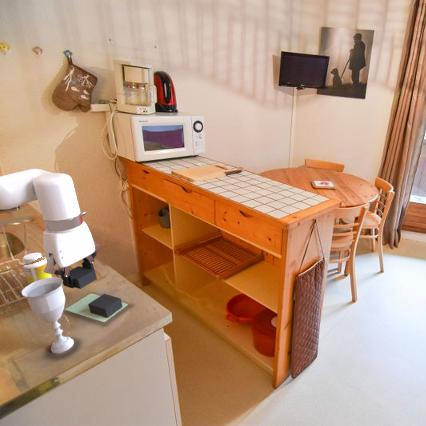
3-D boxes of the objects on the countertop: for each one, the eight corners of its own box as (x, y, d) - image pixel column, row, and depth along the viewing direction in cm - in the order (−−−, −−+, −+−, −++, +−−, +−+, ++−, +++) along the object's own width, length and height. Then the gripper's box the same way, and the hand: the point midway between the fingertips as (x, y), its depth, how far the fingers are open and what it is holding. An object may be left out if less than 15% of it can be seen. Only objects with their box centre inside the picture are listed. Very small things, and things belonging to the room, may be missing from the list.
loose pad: (63, 284, 87) (60, 275, 86) (80, 274, 91) (78, 265, 90) (80, 289, 85) (77, 279, 84) (97, 279, 90) (95, 270, 89)
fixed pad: (90, 312, 88) (87, 304, 87) (106, 301, 92) (104, 293, 91) (107, 318, 86) (105, 309, 85) (122, 306, 91) (120, 298, 90)
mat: (64, 311, 88) (64, 309, 88) (91, 294, 96) (90, 293, 95) (104, 323, 85) (104, 322, 85) (128, 305, 92) (128, 304, 92)
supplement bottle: (56, 277, 102) (47, 250, 98) (48, 288, 97) (39, 259, 93) (34, 280, 100) (25, 252, 96) (26, 290, 95) (15, 261, 91)
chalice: (61, 362, 73) (40, 299, 66) (36, 356, 74) (12, 294, 67) (88, 339, 80) (71, 279, 73) (64, 334, 81) (45, 275, 74)
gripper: (84, 208, 90) (97, 263, 97) (15, 232, 74) (37, 295, 81) (105, 212, 88) (117, 268, 95) (39, 238, 73) (59, 302, 80)
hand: (80, 280), depth 88 cm, fingers closed on loose pad, 5 cm apart
